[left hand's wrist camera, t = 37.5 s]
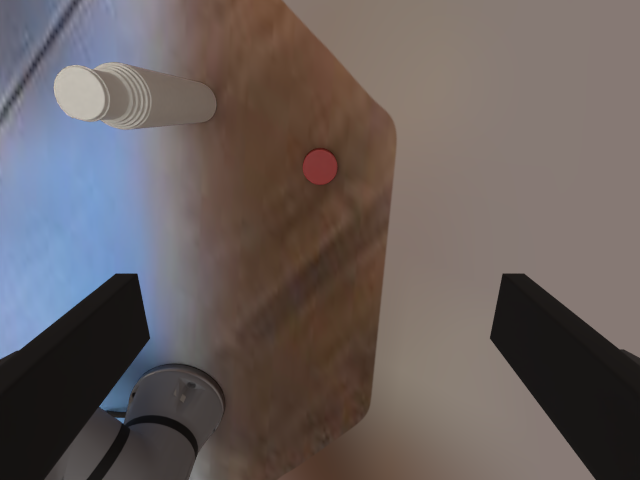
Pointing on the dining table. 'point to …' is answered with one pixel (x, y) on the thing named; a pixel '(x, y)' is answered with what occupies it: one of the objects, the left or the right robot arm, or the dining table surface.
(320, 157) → the cap
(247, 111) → the dining table surface
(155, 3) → the dining table surface
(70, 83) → the bottle
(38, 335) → the left robot arm
